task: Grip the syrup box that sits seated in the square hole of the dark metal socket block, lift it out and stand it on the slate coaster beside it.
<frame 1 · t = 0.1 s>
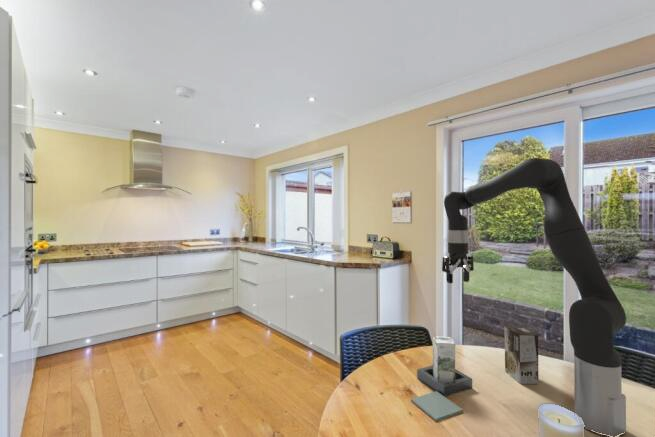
hand: (458, 282, 119), 29 cm above the table, tool pointing down, fingers open, 8 cm apart
syrup box: (443, 383, 99), resting in socket block
coffee box: (521, 377, 103), on the table
slate coaster: (436, 406, 87), on the table
socket block: (443, 382, 99), on the table
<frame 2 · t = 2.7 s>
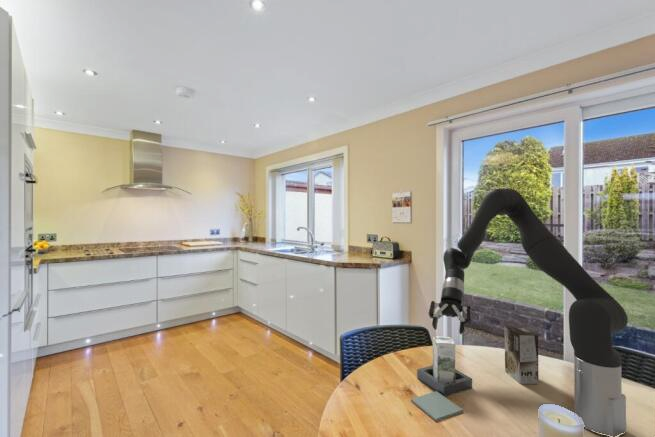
hand: (447, 330, 106), 15 cm above the table, tool tilted 45°, fingers open, 8 cm apart
nothing on the table moved.
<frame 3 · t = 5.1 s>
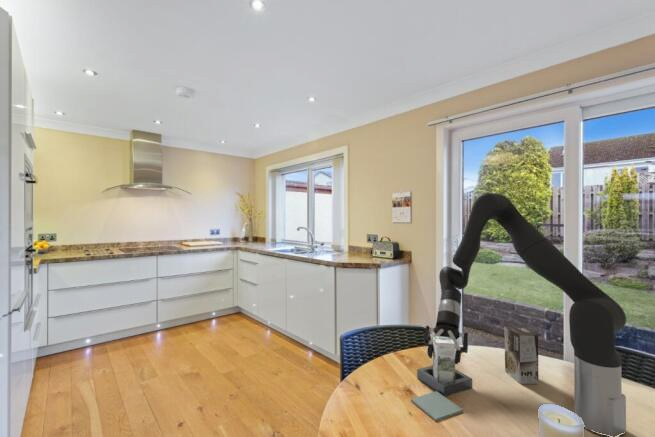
hand: (443, 360, 98), 8 cm above the table, tool tilted 45°, fingers closed on syrup box, 7 cm apart
syrup box: (443, 383, 99), resting in socket block, touching gripper
everything else where it was.
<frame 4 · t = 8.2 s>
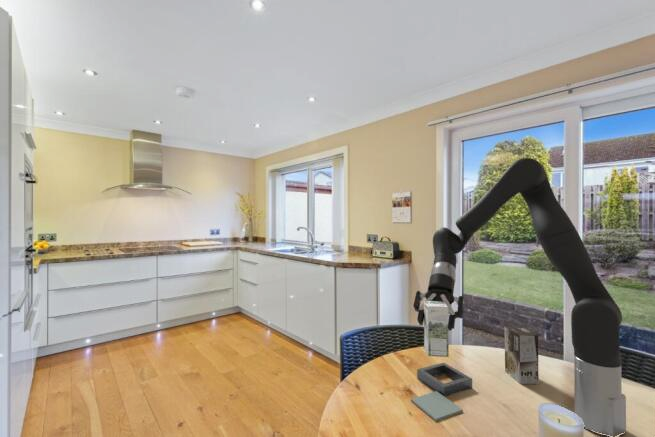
hand: (434, 326, 86), 23 cm above the table, tool tilted 45°, fingers closed on syrup box, 7 cm apart
syrup box: (436, 353, 87), point 15 cm above the table, touching gripper
everything else where it was.
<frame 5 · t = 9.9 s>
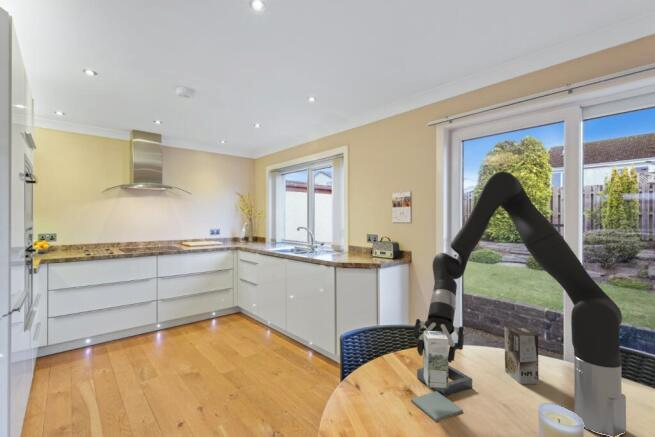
hand: (434, 357, 86), 14 cm above the table, tool tilted 45°, fingers closed on syrup box, 7 cm apart
syrup box: (435, 384, 87), point 6 cm above the table, touching gripper
everything else where it was.
when the fingers open (10 cm above the table, at t = 11.5 s): syrup box drops 1 cm, resting on slate coaster.
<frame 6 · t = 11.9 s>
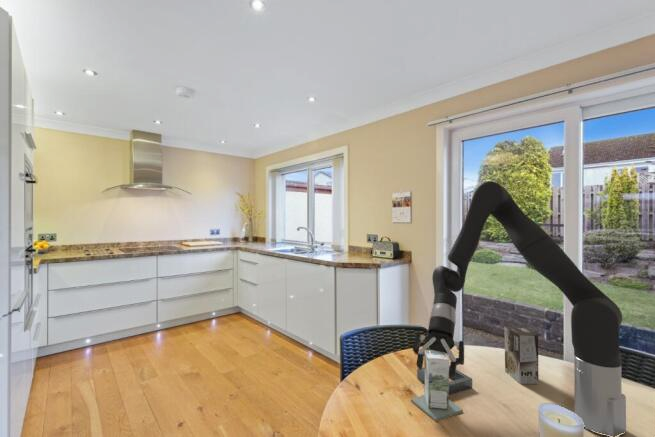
hand: (435, 372, 86), 10 cm above the table, tool tilted 45°, fingers open, 8 cm apart
syrup box: (436, 404, 87), resting on slate coaster
everything else where it was.
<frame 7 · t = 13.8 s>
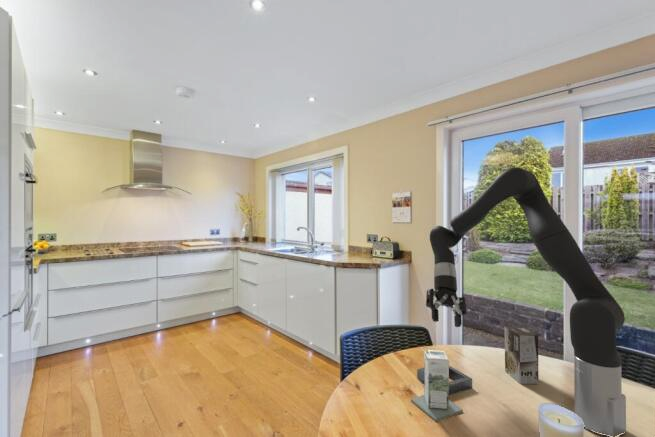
hand: (446, 324, 100), 19 cm above the table, tool tilted 30°, fingers open, 8 cm apart
nothing on the table moved.
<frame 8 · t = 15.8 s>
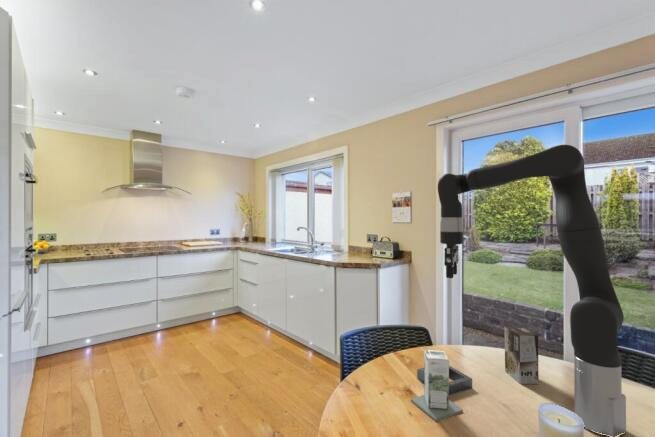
hand: (451, 276, 106), 34 cm above the table, tool pointing down, fingers open, 8 cm apart
nothing on the table moved.
at the end: syrup box inside the target area on the slate coaster (0.2 cm from its centre), point 0.4 cm above the slate coaster's base; syrup box tilted 0°; syrup box touching slate coaster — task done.
